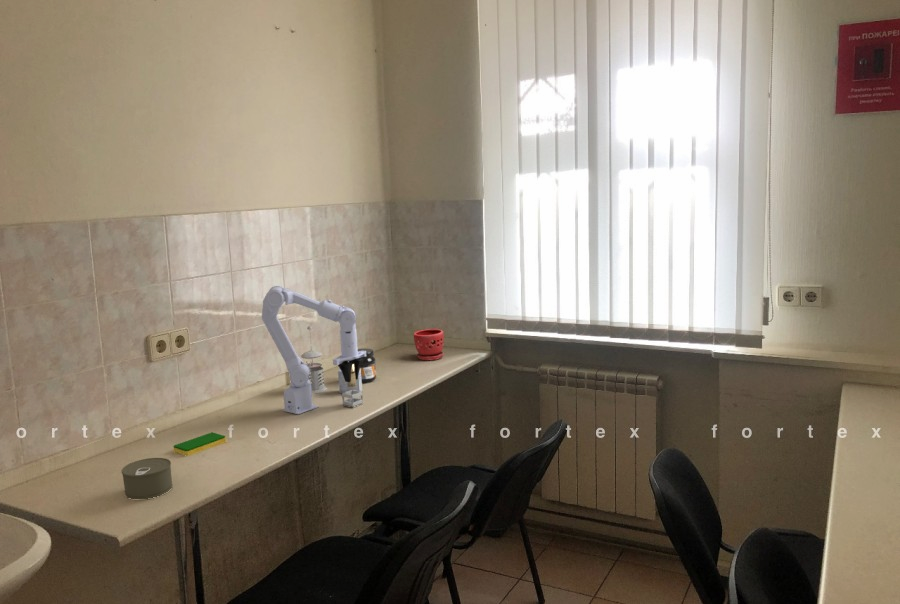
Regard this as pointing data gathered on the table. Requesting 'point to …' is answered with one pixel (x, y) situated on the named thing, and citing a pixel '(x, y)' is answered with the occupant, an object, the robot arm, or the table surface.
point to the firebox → (352, 398)
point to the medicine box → (343, 385)
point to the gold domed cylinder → (352, 377)
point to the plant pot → (429, 344)
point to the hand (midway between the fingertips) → (351, 380)
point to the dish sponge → (199, 443)
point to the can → (147, 478)
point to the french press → (315, 370)
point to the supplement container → (368, 366)
